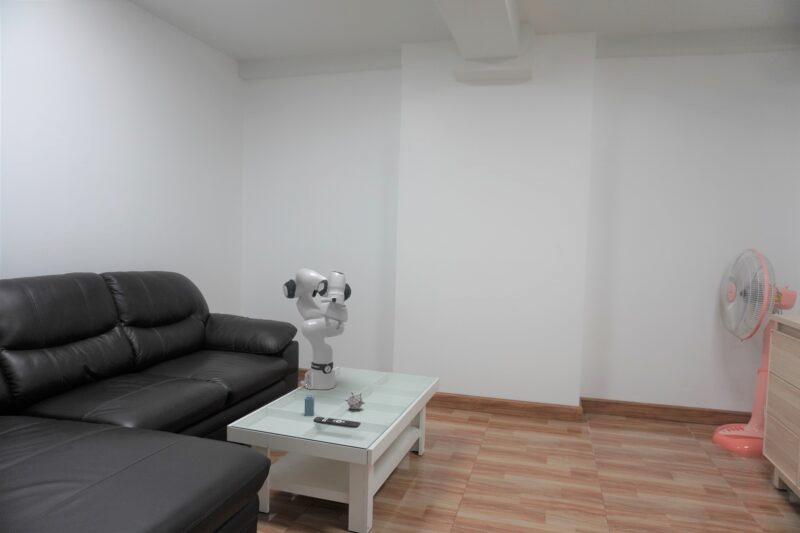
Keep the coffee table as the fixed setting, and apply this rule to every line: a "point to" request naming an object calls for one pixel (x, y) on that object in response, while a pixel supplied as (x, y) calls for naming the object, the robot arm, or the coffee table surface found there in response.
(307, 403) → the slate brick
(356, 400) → the twenty-sided die
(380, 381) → the coffee table surface
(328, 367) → the robot arm
